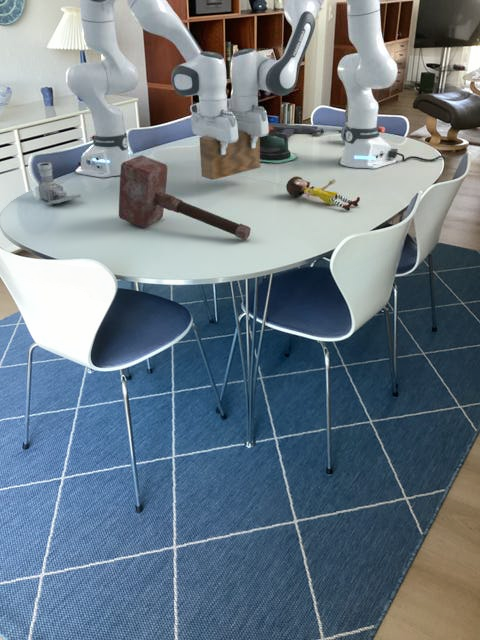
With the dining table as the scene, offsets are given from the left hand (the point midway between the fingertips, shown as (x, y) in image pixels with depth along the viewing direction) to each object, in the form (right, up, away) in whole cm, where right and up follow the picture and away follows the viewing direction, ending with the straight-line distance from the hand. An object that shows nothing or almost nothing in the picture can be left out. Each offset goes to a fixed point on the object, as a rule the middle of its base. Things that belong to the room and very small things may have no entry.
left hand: (215, 152), depth 184 cm
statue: (+63, +36, +86) cm, 113 cm away
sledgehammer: (-8, -30, -23) cm, 38 cm away
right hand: (+10, +4, +7) cm, 13 cm away
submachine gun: (+30, +32, +80) cm, 91 cm away
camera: (-53, -16, +2) cm, 55 cm away
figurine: (+34, -17, -4) cm, 38 cm away
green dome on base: (+21, +12, +46) cm, 52 cm away
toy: (+60, +23, +63) cm, 90 cm away
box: (+5, -4, +8) cm, 10 cm away
